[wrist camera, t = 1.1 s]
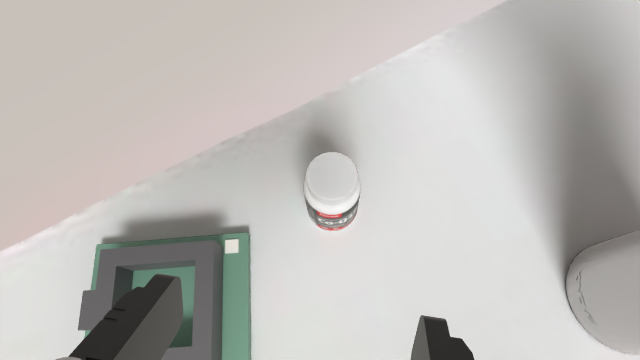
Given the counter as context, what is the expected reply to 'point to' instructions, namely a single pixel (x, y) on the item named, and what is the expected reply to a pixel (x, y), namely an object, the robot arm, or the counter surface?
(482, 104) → the counter surface
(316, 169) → the pill bottle
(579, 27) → the counter surface
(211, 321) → the socket board
